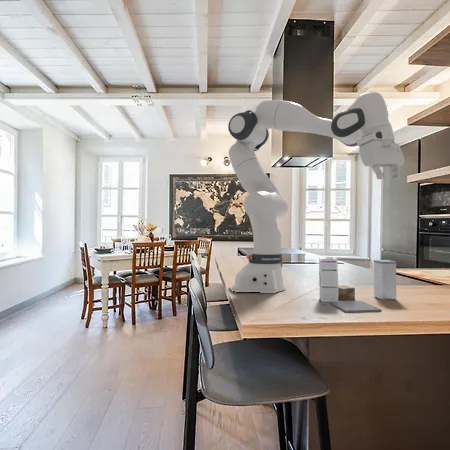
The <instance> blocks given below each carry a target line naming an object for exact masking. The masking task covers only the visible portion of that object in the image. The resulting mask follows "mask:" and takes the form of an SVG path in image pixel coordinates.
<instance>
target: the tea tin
mask: <svg viewBox="0 0 450 450" xmlns="http://www.w3.org/2000/svg"><path fill="white" fill-rule="evenodd" d="M373 285H374V286H373V287H374V289H373V290H374V291H373V292H374V295H373V296H374V298H376V297H377V299H379V300H381V299H382V301H386V300H385V299H396V300H397V261H395V260H392V259H391V260H390V259H373Z"/></svg>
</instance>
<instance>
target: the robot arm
mask: <svg viewBox="0 0 450 450" xmlns="http://www.w3.org/2000/svg"><path fill="white" fill-rule="evenodd" d="M227 125H228V126H227V128H228V132H229V134H230V135H231V137H233V139H235V140H236V141H235V143H233V144H232V145H230V147H229V150H228V158H229V161H230V164H231V166H232V169H233V171H234V173H235V176H236V177H237V179H238V181H239V184H240V185H241V188H242V189H244V191H245V192H246V193H247V196H246V197H245V199H244V201H243V209H244V211H245V213H246V214H247V216H248V218H249V222H250V225H251V226H250V227H251V229H252V235H253V237H252V238H253V239H252V240H253V253H251V254H249V253H247V254H246V255H245V258H246V259H247V260H248V263H247V264H246V265H244V267H242V268H241V269H239V270H238V271H237V272H236V275H235V277H234V283H232V284H229V285H228V286H229V287H228V289H229V288H230V289H231V290H233V291H236V292H260V293H259V294H276V292H277V293H278V292H283V291H285V290H286V286H285V283H284V275H283V269H282V268H283V266H284V264H283V260H284V258H283V257H284V256H283V254H282V234H281V232H280V230H279V227H278V223H277V220H278V219H281V218H282V217H285V215H286V214H287V212H288V210H289V202H288V200H286V198H285V197H284V196H283V195H282V194H281V193H280V191H279V190H278V188H277V187H276V186H275V185H274V183H273V181H272V180H271V179H270V178H269V176H268V175H267V173H266V171H265V170H264V168H263V165H262V164H261V163H260V161H259V158H258V157H257V155H256V152H257V151H259V149H261V148H262V146H263V145H265V144H266V143H267V141H268V139H269V136H270V132H269V129H274V130H278V131H284V132H293V133H295V132H296V133H297V132H298V133H307V134H308V133H309V134H315V135H319V136H324V137H329V138H332V139H336V140H338V141H340V142H341V143H342V144H343V145H344V146H346V147H350V148H351V147H352V148H354V147H356V146H357V147H358V151H359V154H360V158H361V162H362V164H363V165H364V167H369V168H370V167H371V169H372V171H373V173H374V174H375V175H376V179H377V180H383V179H385V173H384V172H383V171H382V169H381V168H390V169H391V170H392V174H391V177H392V179H393V180H398V179H400V177H401V176H400V168H401V167H400V166H403V165H405V157H404V153H403V150H402V148H401V145H399V144H398V143H396V142H395V135H394V131H393V128H392V127H393V126H392V124H391V122H390V121H389V110H388V108H387V104H386V102H385V100H384V97H383V96H382V94H381V93H379V92H376V91H367V92H365V93H362V94H360V95H358V96H357V97H356V99H355V100H354V102H353V103H352V104H351V105H350V106H348V107H347V108H345V109H344V110H343V111H340V112H339V113H337V114H335V116H334V117H333V118H332V119H330V118H323V117H321V116H320V117H319V116H318V115H315V113H312V112H310V111H309V110H308V109H307V108H305V107H304V106H302V105H301V104H298V103H295V102H293V101H288V100H284V99H283V100H282V99H281V100H280V99H269V100H263V101H260V103H258V105H256V108H255V111H252V110H251V109H249V110H246V111H243V112H238V113H236V114H234V115H233V116H232V117H231V118H230V119H229V122H228V124H227ZM230 289H229V290H230ZM231 290H230V291H231ZM233 291H232V292H233ZM236 292H235V293H236Z"/></svg>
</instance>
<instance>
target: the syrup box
mask: <svg viewBox="0 0 450 450" xmlns="http://www.w3.org/2000/svg"><path fill="white" fill-rule="evenodd" d="M318 273H319V274H318V275H319V276H318V277H319V280H318V282H319V283H318V284H319V300H320V302H321V303H322V302H323V303H330V302H339V299H338V286H339V270H338V258H337V257H332V256H331V257H330V256H325V257H324V256H323V257H318Z"/></svg>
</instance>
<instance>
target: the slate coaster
mask: <svg viewBox="0 0 450 450" xmlns="http://www.w3.org/2000/svg"><path fill="white" fill-rule="evenodd" d="M329 304H330V305H331V306H333V307H335V308H336V309H339V310H340V311H342V312H343V313H346V314H347V313H350V314H351V313H374V312H375V313H377V312H378V313H379V312H382V309H381V308H379V307H377V306H374V305H372V304H370V303H368V302H365V301H363V300H352V301H351V300H342V301H341V300H340V301H338V302H329Z"/></svg>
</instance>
